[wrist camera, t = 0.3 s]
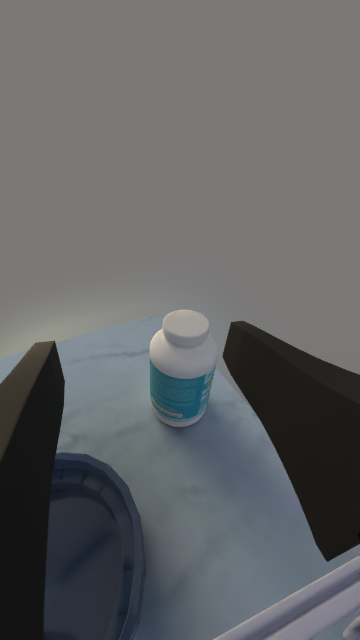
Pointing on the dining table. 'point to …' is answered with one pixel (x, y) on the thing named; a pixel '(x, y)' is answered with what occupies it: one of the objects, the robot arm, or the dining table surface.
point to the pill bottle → (182, 368)
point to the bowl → (92, 553)
